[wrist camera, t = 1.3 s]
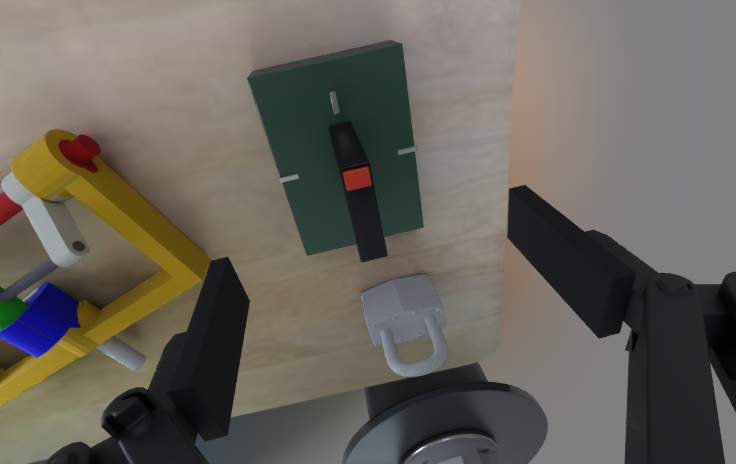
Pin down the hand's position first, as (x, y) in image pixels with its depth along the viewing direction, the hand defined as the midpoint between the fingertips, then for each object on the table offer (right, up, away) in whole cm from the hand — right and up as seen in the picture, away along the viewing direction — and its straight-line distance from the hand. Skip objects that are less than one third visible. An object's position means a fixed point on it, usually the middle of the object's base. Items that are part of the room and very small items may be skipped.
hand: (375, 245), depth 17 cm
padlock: (+3, -6, +21) cm, 22 cm away
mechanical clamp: (-28, -5, +15) cm, 32 cm away
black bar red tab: (-2, +6, +10) cm, 11 cm away
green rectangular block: (-2, +7, +12) cm, 14 cm away
